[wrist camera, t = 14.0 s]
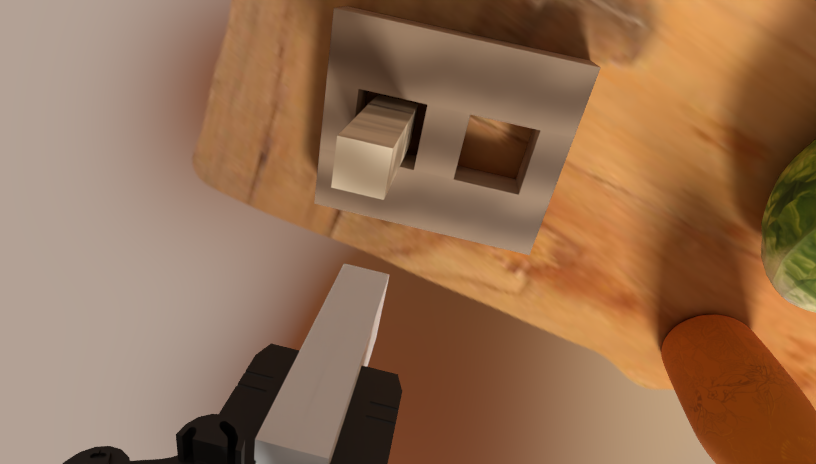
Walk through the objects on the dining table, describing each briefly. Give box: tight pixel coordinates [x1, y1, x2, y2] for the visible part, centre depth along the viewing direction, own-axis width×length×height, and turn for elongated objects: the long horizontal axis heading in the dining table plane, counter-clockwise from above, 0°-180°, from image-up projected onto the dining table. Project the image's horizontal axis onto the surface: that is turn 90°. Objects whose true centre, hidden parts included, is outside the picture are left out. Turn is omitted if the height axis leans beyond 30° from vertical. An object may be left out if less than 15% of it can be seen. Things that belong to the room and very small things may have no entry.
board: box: [314, 6, 601, 255], centre depth 43 cm, size 18×22×4 cm
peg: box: [331, 95, 418, 200], centre depth 39 cm, size 4×4×14 cm
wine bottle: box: [661, 315, 816, 464], centre depth 39 cm, size 10×10×30 cm
